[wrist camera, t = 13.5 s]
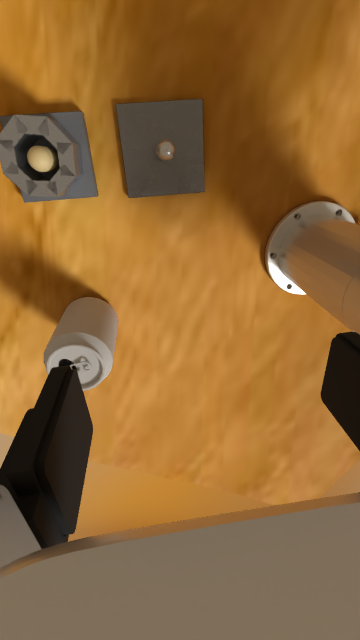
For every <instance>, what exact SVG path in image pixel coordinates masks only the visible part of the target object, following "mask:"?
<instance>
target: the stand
mask: <svg viewBox="0 0 360 640" xmlns="http://www.w3.org/2000/svg"><path fill="white" fill-rule="evenodd" d="M116 109H117V116H118V124H119V131H120V138H121V146H122V153H123V160H124V167H125V175H126V182H127V189H128V197H129V198H136V197H149V196H161V195H173V194H185V193H197V192H205V187H204V145H203V103H202V99H192V100H175V101H159V102H142V103H126V104H116Z"/></svg>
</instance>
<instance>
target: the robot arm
mask: <svg viewBox="0 0 360 640" xmlns="http://www.w3.org/2000/svg"><path fill="white" fill-rule="evenodd" d="M336 211H337V212H336ZM295 214H296V216H295ZM294 216H295V217H294ZM271 253H272V255H270V254H271ZM265 265H266V268H267V272H268V274H269V276H270V277H271V279H272V280H273V281H274V282H275V284H276V285H278V286H279V287H280V288H281V289H283V290H285V291H286V292H289V293H293V294H302V295H303V294H307V295H308V296H309V297H310V298H312V299H313V300H314V301H315V302H317V303H318V304H319V305H320V306H322V307H323V308H324V309H325V310H327V311H328V312H329V313H330V314H331V315H333V316H334V317H335V318H336V319H338V320H339V321H340V322H341V323H343V324H344V325H345V326H346V327H347V328H349V329H350V330H351V331H352V332H346V333H339V334H337V335H336V338H333V340H332V342H331V347H330V352H329V356H328V361H327V366H326V371H325V376H324V380H323V385H322V390H321V398H322V401H323V403H324V404H325V405H326V407H327V408H328V409H329V411H330V412H331V413H332V415H333V416H334V417H335V419H336V420H337V421H338V423H339V424H340V425H341V427H342V428H343V429H344V431H345V432H346V433H347V435H348V436H349V437H350V439H351V440H352V441H353V443H354V444H355V445H356V447H357V448H358V449H359V451H360V225H358V224H356V223H355V220H354V219H353V217H352V215H351V214H350V213H349V212H348V211H347V210H346V209H345V208H344V207H342V206H340V205H338V204H335V203H332V202H326V201H313V202H309V203H306V204H302V205H300V206H298V207H296V208H294V209H293V210H292V211H290V212H289V213H288V214H286V215H285V216H284V217H283V218H282V219H281V220H280V221H279V222H278V224H277V225H276V227H275V228H274V229H273V231H272V233H271V235H270V237H269V239H268V243H267V246H266V252H265ZM92 434H93V425H92V421H91V418H90V414H89V411H88V407H87V404H86V400H85V397H84V393H83V390H82V386H81V383H80V379H79V376H78V372H77V370H76V369H71V367H70V366H61V367H53V368H52V369H51V370H50V372H49V375H48V377H47V379H46V382H45V384H44V386H43V389H42V391H41V393H40V396H39V398H38V400H37V402H36V405H35V407H34V408H33V409H29V410H28V411H27V412H26V414H25V416H24V418H23V420H22V422H21V425H20V427H19V429H18V431H17V433H16V436H15V438H14V440H13V442H12V444H11V446H10V449H9V451H8V453H7V455H6V457H5V460H4V462H3V464H2V466H1V468H0V640H360V492H359V493H353V494H346V495H339V496H333V497H326V498H320V499H314V500H307V501H301V502H295V503H288V504H282V505H276V506H269V507H263V508H257V509H251V510H244V511H239V512H232V513H226V514H220V515H213V516H207V517H201V518H195V519H189V520H183V521H177V522H171V523H165V524H159V525H153V526H147V527H141V528H135V529H130V530H124V531H119V532H114V533H108V534H102V535H97V536H92V537H86V538H82V539H78V540H74V541H70V542H68V537H69V534H73V533H74V532H75V529H76V524H77V518H78V513H79V507H80V501H81V495H82V490H83V485H84V479H85V473H86V468H87V462H88V457H89V451H90V446H91V440H92Z"/></svg>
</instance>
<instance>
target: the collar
mask: <svg viewBox="0 0 360 640" xmlns="http://www.w3.org/2000/svg"><path fill="white" fill-rule="evenodd" d="M39 137H45V138H46V139H47V140H48V141H49V142H50V143H51V144H52V145H53V146H54V147H55V148H56V149H57V151H58V158H59V166H60V169H59V170H58V172H57V173H56V174H55V175H54V176H53V178H45V177H44V176H43V175H41V174H40V173H39V172H38V171H37V170H35V169H33V168H32V167H31V165H30V164H29V162H28V159H27V154H28V151H29V149H30V148H31V147H32V145H33V144H34V143H35V142H36V140H37V139H38V138H39ZM0 161H1V166H2V171H3V174H4V175H6V176H7V177H8V178H9V179H10V180H11V181H12V182H13V183H15V184H16V185H17V186H18V187H19V188H20V189H21V190H22V191H24V192H25V193H26V194H27V195H28V196H42V197H59V196H61V195H64V194H66V193H68V192H69V191H70V189H71V188H72V187H73V186H74V185H75V184H76V182H77V181H78V180H79V179H80V178H81V177H82V176H83V174H84V173H83V163H82V153H81V145H80V144H79V143H78V142H77V141H76V140H75V139H74V138H73V137H72V135H71V134H70V133H69V132H68V131H67V130H66V129H65V128H64V127H63V126H62V125H61V124H60V123H59V122H57V121H55V120H53V119H51V118H49V117H46V116H29V115H13V117H12V118H11V119H10V121H9V122H8V123H7V125H6V126H5V127H4V129H3V130H2V131H1V133H0Z"/></svg>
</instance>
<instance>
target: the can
mask: <svg viewBox="0 0 360 640" xmlns="http://www.w3.org/2000/svg"><path fill="white" fill-rule="evenodd" d="M117 329H118V317H117V314H116V312H115V310H114V309H113V307H112V306H110V305H109V304H108V303H107V302H106V301H103V300H101V299H99V298H94V297H84V298H79V299H77V300H75V301H73V302H71V303H70V304H69V305H68V306H67V307H66V309H65V311H64V313H63V315H62V317H61V319H60V321H59V323H58V325H57V327H56V329H55V331H54V333H53V335H52V337H51V339H50V341H49V343H48V345H47V347H46V349H45V352H44V364H45V366H46V371H47V373H48V375H49V372H50V370H51V369H52V368H53V367H61V366H70V367H71V369H76V370H77V372H78V376H79V379H80V383H81V386H82V390H83V391H84V390H89V389H91V388H93V387H96V386H97V385H98V384H99V383H100V382H101V381H102V380H103V379H105V378H106V377H107V376H108V374H109V373H110V371H111V369H112V364H113V357H114V350H115V343H116V336H117Z"/></svg>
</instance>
